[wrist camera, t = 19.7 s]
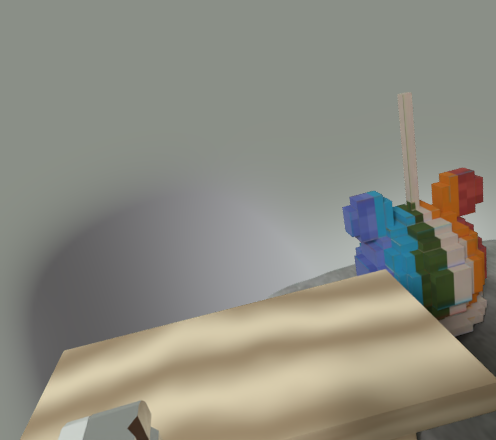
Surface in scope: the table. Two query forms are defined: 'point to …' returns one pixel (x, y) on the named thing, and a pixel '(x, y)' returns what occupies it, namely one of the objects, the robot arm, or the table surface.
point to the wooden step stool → (281, 371)
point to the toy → (425, 238)
